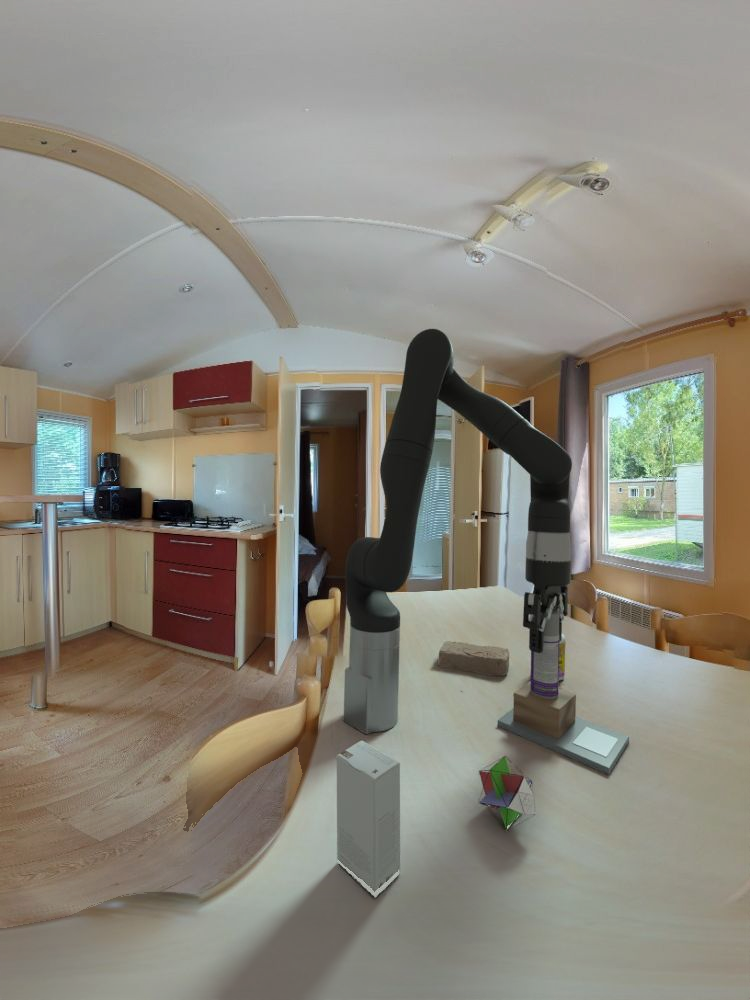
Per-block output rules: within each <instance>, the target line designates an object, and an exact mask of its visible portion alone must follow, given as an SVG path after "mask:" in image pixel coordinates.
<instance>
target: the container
mask: <svg viewBox="0 0 750 1000" xmlns="http://www.w3.org/2000/svg"><path fill="white" fill-rule="evenodd" d="M540 613H541V612H540ZM540 621H541V619H540ZM543 631H544V641H543V652H541V653H537V652H533V651H531V650H530V681H531V693H532V694H533V695H535V696H537V697H539V698H542V699H549V700H552V699H556V698H558V688H559V685H560V684H559V612H558V611H557V610H555V611H553V612H552V613H551V617H550V620H548V621H546V623H545V627H544V630H543Z"/></svg>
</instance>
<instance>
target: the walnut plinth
mask: <svg viewBox="0 0 750 1000" xmlns="http://www.w3.org/2000/svg"><path fill="white" fill-rule="evenodd" d="M576 700H577V693H574V692H571V691H567V690H564V689H562V688H559V687H558V698H556V699H552V700H549V699H542V698H539V697H537V696H535V695H533V694H532V693H531V680H530V681H528V682H527V683H525V684H524V685H523V686H521V687H520V688H518V689H517V690H516V691H514V692H513V708H512V709H513V721H516V722H518V723H521V724H523V725H525V726H528V727H530V728H533V729H535V730H537V731H540V732H542V733H545V734H547V735H549V736H552V737H554V738H556V739H560V738H561V737H562V736H563V734H564V733H565V732H566V731H567V730H568V729H569V728H570V727H571V726H572V725H573V724H574V723H575V716H576V709H577V707H576V706H577V705H576V702H577V701H576Z"/></svg>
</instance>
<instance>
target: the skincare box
mask: <svg viewBox="0 0 750 1000" xmlns="http://www.w3.org/2000/svg"><path fill="white" fill-rule="evenodd" d="M400 779H401V763H400V762H399V761H398V760H396V759H394V758H393V757H391V756H389V755H387V754H386V753H384V752H382V751H381V750H379V749H377V748H375V747H374V746H373V745H371V744H370V743H367V742H365V741H364V740H359V741H358V742H355V744H353V745H351V746H350V747H348V748H346V749H345V750H344V751H342V752H340V753H338V754H337V755H336V836H337V837H336V840H337V841H336V859H338V860H339V861H340V862H341V863H342V864H343V865H344V866H345V867H347V868H348V869H349V870H350V871H352V872H353V873H354V874H355V875H356V876H357V877H358V878H360V879H362V880H363V881H364V882H365V883H366V884H367V885H368V886H370V888H372V890H373V891H374V892H375V891H376V890H377V889H378V888H380V887H381V886H382V885H383V884H384V883H385V882H387V881H388V880H389V879H390V878H391V877H392V876H393V875H394V874H395V873H396V872H398V870H399V869H400V870H401V780H400Z"/></svg>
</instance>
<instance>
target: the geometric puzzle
mask: <svg viewBox="0 0 750 1000" xmlns="http://www.w3.org/2000/svg"><path fill="white" fill-rule="evenodd" d="M508 761H509V762H511V760H510V759H509V758H508V757H507V755H506V754H505V755H504V756H503V757H501V758H499V759H497V760H496V761H494V762H493V763H491V764H489V765H487V766H486V767H484V768H482V769H480V770H478V774H479V778H480V780H481V783H482V791H481V793H480V795H479V796H480V797H479V798H478V802H477V803H478V804H479V805H482V806H487V807H488V805H490V806H491V807H490V808H494V807H496V808H495V809H498V808H500V809H499V810H500V812H501V816H502V820H503V824H504V828H505V829H506V830H507V826H508V825H510V824H511V823H512V822H513V821H514V820H515V819H516V818H517V816H518V815H520V814H521V815H523V816H526V815H527V816H531V815H532V817H533V816H537V813H536V803H535V795H534V792H533V790H532V789H531V787H532V788H534V787H533V786H534V785H533V780H532V779H530V778H529V777H526V775H523V774H524V772H523V771H521V769H520V768H519V767H518V766H516V770H517V771H518V772H519V773H520V774H521V775H519V774H513V773H511V772H510V768H509V765H508ZM496 762H497V763H496ZM494 763H495V764H494ZM493 764H494V765H493ZM491 765H493V766H492V767H491V768H490V769H485V768H488V767H490V766H491ZM484 769H485V770H484ZM519 770H520V771H519ZM483 792H484V794H485V796H484V797H483V798H482V799H481V797H482V795H483ZM521 815H520V816H521ZM517 819H518V818H517ZM517 819H516V820H517ZM529 819H530V817H528V818H526V819H524V820H523V822H524V821H527V820H529ZM520 824H521V823H518V824H516V826H518V825H520ZM512 828H514V826H512V827H510V828H509V829H508V830H507V831H510V830H511V829H512ZM506 830H505V831H506Z"/></svg>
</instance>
